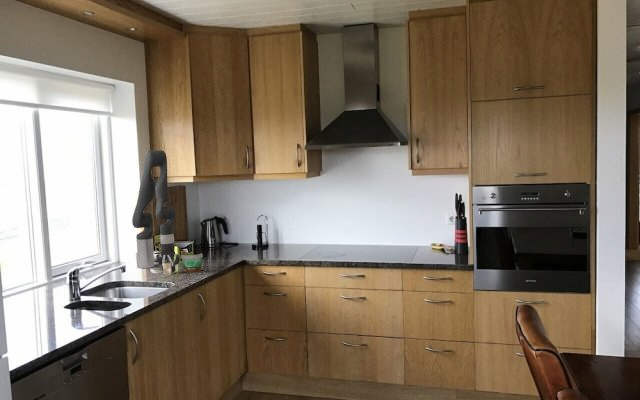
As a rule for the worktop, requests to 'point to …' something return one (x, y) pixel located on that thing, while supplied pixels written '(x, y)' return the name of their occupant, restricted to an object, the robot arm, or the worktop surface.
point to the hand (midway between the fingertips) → (169, 272)
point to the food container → (192, 263)
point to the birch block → (167, 268)
